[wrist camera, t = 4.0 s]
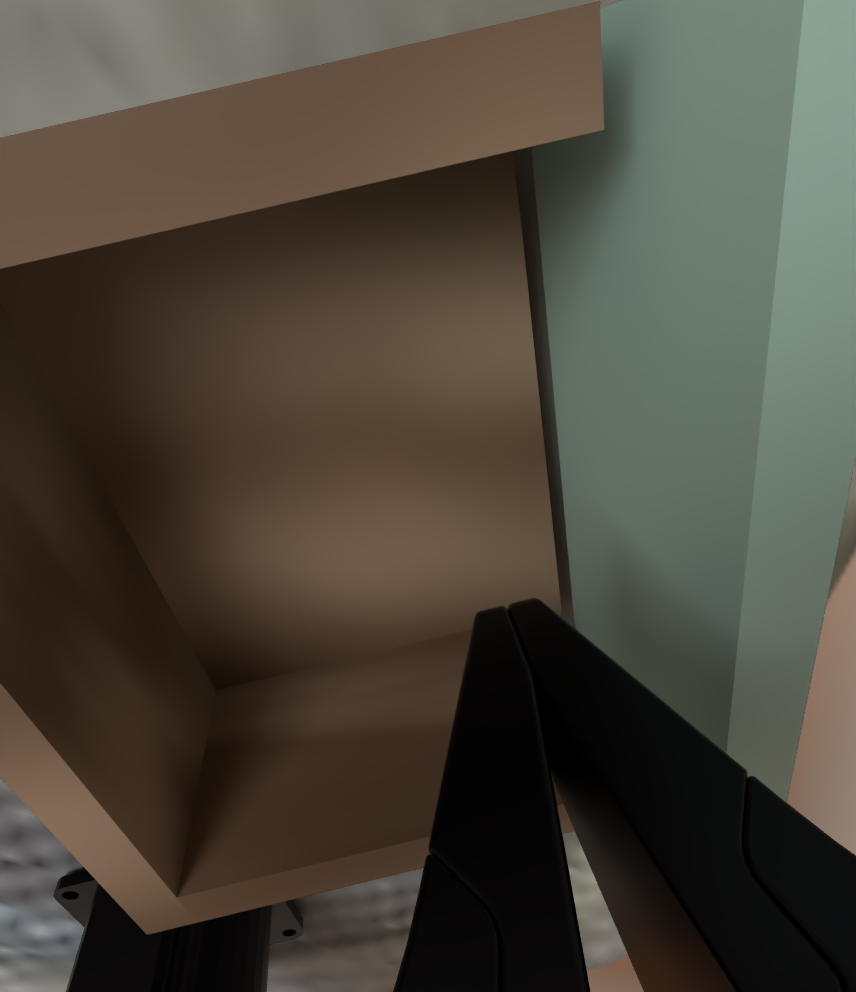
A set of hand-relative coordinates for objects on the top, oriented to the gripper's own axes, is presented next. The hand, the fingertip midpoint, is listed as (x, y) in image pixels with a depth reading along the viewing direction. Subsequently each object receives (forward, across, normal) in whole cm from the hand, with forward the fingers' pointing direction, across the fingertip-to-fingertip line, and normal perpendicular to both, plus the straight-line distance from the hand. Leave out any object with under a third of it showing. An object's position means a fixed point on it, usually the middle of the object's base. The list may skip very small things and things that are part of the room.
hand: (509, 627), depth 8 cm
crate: (+7, +3, 0) cm, 7 cm away
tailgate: (+6, -2, 0) cm, 6 cm away
